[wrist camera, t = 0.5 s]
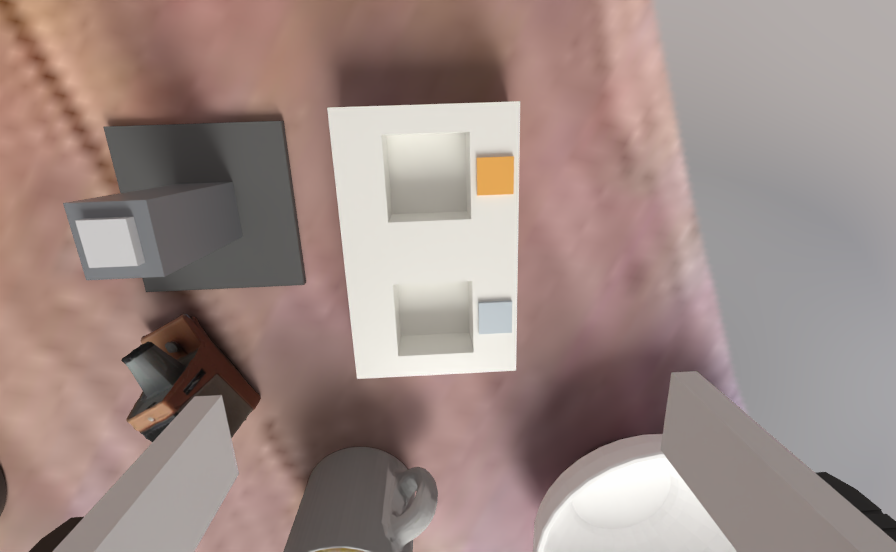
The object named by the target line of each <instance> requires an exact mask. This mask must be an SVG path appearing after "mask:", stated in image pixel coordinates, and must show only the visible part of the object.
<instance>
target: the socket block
mask: <svg viewBox="0 0 896 552" xmlns="http://www.w3.org/2000/svg"><path fill="white" fill-rule="evenodd" d="M327 110H328V119H329V128H330V138H331V147H332V156H333V165H334V174H335V183H336V192H337V201H338V210H339V219H340V229H341V238H342V247H343V256H344V265H345V274H346V283H347V292H348V301H349V311H350V320H351V329H352V338H353V347H354V356H355V365H356V374H357V379H365V378H384V377H403V376H422V375H440V374H459V373H478V372H497V371H516V337H517V273H518V209H519V144H520V101H516V102H485V103H454V104H423V105H393V106H362V107H331V108H327Z"/></svg>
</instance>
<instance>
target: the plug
mask: <svg viewBox="0 0 896 552" xmlns="http://www.w3.org/2000/svg"><path fill="white" fill-rule="evenodd" d="M63 204H64V208H65V211H66V214H67V218H68V221H69V224H70V228H71V231H72V234H73V238H74V241H75V244H76V248H77V251H78V254H79V257H80V261H81V264H82V267H83V271H84V274H85V277H86V280H102V279H124V278H147V277H165V276H167V275H169V274H171V273H173V272H175V271H177V270H179V269H181V268H182V267H184V266H186V265H188V264H190V263H192V262H194V261H196V260H198V259H200V258H202V257H204V256H206V255H208V254H210V253H212V252H214V251H216V250H217V249H219V248H221V247H223V246H225V245H227V244H229V243H231V242H233V241H235V240H237V239H239V238H241V237H243V235H242V230H241V224H240V219H239V213H238V208H237V202H236V197H235V191H234V185H233V182H216V183H190V184H173V185H167V186H161V187H156V188H150V189H144V190H138V191H132V192H126V193H120V194H114V195H108V196H102V197H97V198H91V199H85V200H79V201H73V202H67V203H63Z"/></svg>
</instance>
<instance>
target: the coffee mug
mask: <svg viewBox="0 0 896 552" xmlns="http://www.w3.org/2000/svg"><path fill="white" fill-rule="evenodd" d="M416 490H417V492H416V496H415V491H416ZM437 497H438V491H437V486H436V482H435V480H434V478H433V477H432V475H431V474H430V473H429V472H428V471H427V470H426V469H424V468H420V467H415V468H411V469H409V470H408V469H407V468H406V466H405V465H404V464H403V463H402V462H401V461H400V460H398V459H397V458H396V457H394V456H392V455H391V454H389V453H387V452H385V451H382V450H379V449H375V448H369V447H352V448H346V449H342V450H339V451H336V452H334V453H332V454H330V455H328V456H327V457H325V458H324V459H323V460H322V461H320V462H319V463H318V464H317V466H316V467H315V468H314V470H313V471H312V473H311V475H310V478H309V481H308V483H307V486H306V489H305V492H304V495H303V498H302V500H301V503H300V506H299V509H298V512H297V515H296V517H295V520H294V523H293V526H292V529H291V532H290V535H289V537H288V540H287V543H286V546H285V549H284V552H413V539H414V538H416V537H417V536H419V535H420V534H421V533H422V532H423V531H424V530H425V529H426V528H427V526H428V525H429V523H430V522H431V521H432V518H433V516H434V514H435V510H436V506H437Z"/></svg>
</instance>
